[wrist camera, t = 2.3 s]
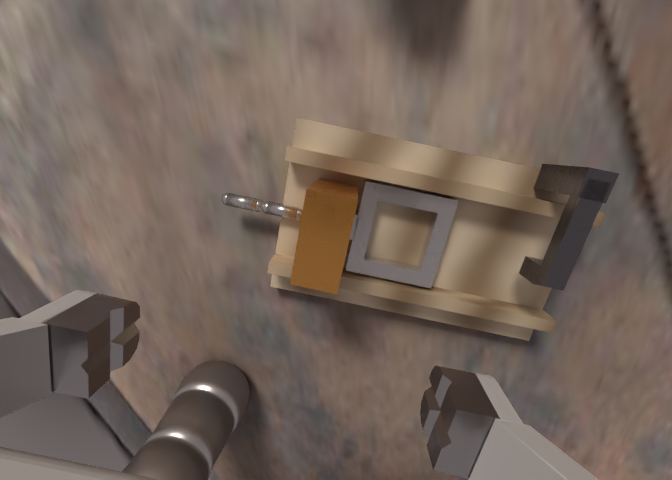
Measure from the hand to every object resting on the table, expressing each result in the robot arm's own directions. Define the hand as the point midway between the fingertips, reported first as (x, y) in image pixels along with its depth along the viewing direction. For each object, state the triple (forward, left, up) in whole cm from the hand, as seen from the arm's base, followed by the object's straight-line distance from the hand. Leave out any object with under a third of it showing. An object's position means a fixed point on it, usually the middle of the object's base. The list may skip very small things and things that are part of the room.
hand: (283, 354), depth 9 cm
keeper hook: (-15, -3, -18) cm, 24 cm away
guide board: (-8, 0, -19) cm, 21 cm away
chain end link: (0, 0, -18) cm, 18 cm away
